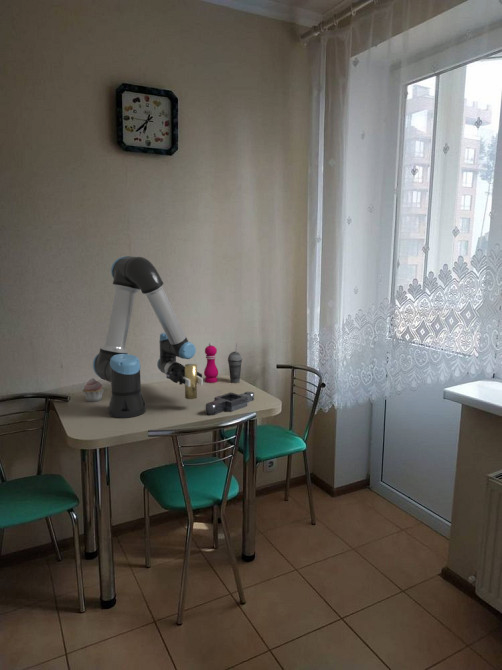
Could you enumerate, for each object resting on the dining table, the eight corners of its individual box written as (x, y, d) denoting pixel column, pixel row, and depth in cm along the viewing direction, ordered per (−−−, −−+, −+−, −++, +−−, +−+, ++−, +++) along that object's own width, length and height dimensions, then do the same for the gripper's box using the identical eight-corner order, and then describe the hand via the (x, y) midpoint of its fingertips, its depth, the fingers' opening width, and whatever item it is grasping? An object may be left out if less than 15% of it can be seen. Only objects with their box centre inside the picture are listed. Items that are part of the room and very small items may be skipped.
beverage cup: (233, 379, 251) (232, 341, 247) (245, 381, 247) (244, 342, 244) (225, 382, 245) (224, 343, 241) (237, 384, 241) (237, 345, 237)
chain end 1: (216, 417, 195) (215, 408, 194) (198, 412, 202) (198, 403, 201) (247, 405, 210) (247, 396, 209) (230, 401, 216) (230, 392, 215)
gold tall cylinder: (190, 400, 202) (190, 367, 200) (182, 397, 205) (182, 365, 203) (199, 397, 206) (199, 365, 204) (191, 395, 209) (191, 363, 207)
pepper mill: (217, 383, 244) (217, 344, 240) (203, 383, 244) (202, 344, 240) (219, 379, 251) (218, 341, 247) (205, 379, 251) (204, 341, 247)
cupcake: (108, 397, 222) (107, 375, 220) (99, 403, 213) (97, 381, 211) (89, 396, 223) (87, 375, 222) (79, 402, 214) (77, 380, 213)
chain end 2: (231, 411, 202) (231, 404, 202) (214, 406, 208) (214, 399, 208) (261, 400, 216) (261, 394, 216) (244, 396, 223) (244, 389, 222)
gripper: (193, 376, 225) (215, 389, 205) (156, 380, 216) (175, 394, 196) (194, 360, 223) (215, 371, 203) (156, 364, 215) (175, 376, 195)
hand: (195, 382), depth 200 cm, fingers closed on gold tall cylinder, 5 cm apart
